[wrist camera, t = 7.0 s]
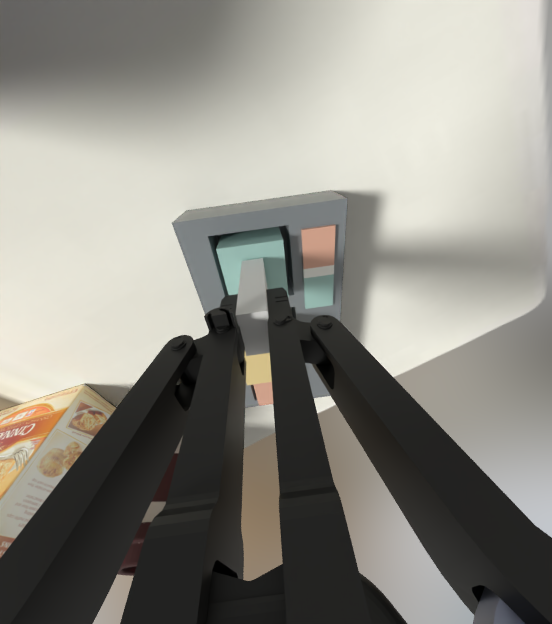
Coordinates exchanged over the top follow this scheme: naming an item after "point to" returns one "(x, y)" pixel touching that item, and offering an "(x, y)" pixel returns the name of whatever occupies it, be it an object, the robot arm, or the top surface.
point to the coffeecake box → (42, 450)
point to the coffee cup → (149, 519)
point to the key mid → (258, 369)
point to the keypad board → (297, 248)
